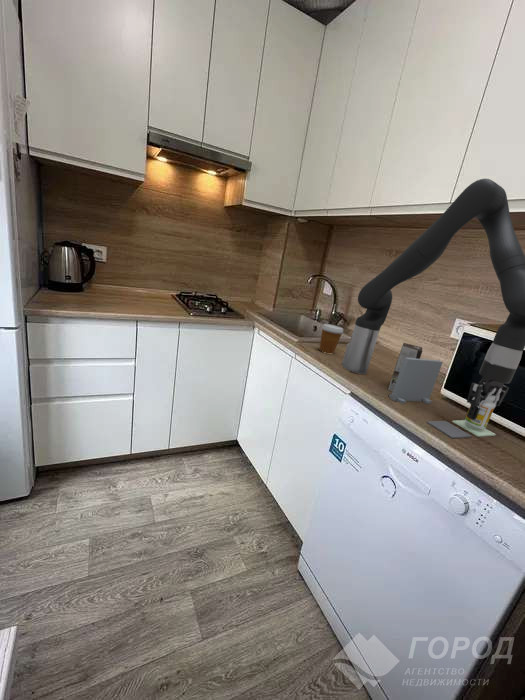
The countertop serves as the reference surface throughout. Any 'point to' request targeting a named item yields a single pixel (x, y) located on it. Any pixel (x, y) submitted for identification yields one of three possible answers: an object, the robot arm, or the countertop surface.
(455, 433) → the grey pad
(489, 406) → the supplement bottle
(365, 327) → the robot arm
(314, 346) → the countertop surface
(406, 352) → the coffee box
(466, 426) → the green pad
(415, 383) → the screen
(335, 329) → the disposable coffee cup
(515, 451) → the countertop surface
